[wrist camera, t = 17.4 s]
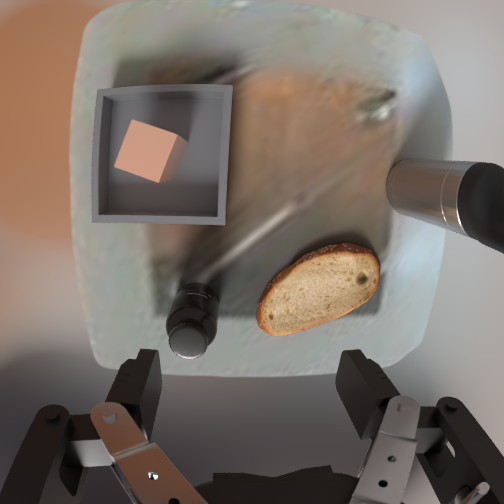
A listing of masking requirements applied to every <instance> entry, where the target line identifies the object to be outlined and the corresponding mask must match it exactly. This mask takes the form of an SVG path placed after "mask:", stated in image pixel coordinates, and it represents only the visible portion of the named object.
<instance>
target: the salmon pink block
mask: <svg viewBox="0 0 504 504" xmlns="http://www.w3.org/2000/svg"><path fill="white" fill-rule="evenodd" d="M187 145H188V142H187V141H186V140H185V139H183V138H182V137H180V136H179V135H177V134H175V133H172V132H169V131H166V130H163V129H160V128H157V127H154V126H151V125H148V124H145V123H142V122H139V121H136V120H133V119H132V120H131V123H130V125H129V128H128V130H127V133H126V135H125V138H124V141H123V143H122V146H121V149H120V151H119V154H118V157H117V160H116V162H115V165H114V167H116V168H119V169H122V170H124V171H127V172H130V173H133V174H135V175H138V176H141V177H144V178H146V179H149V180H152V181H155V182H157V183H161V182H165V181H169V180H174V177H175V175H176V172H177V169H178V167H179V164H180V162H181V159H182V157H183V154H184V152H185V149H186V147H187Z"/></svg>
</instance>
